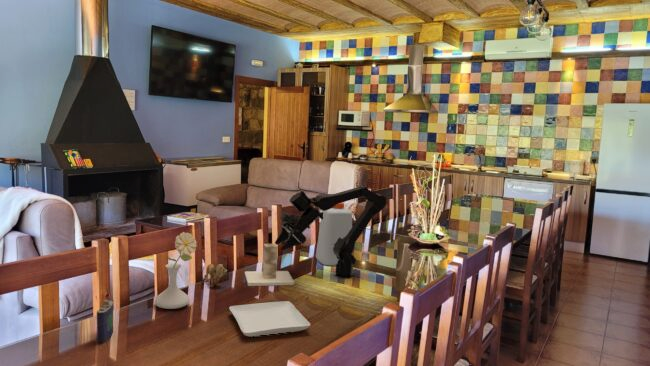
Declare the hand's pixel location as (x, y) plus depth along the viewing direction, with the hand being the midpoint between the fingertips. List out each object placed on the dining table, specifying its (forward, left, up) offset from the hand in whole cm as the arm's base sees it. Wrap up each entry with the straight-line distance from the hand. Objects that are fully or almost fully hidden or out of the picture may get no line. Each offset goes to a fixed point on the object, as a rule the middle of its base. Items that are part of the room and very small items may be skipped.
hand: (278, 246), depth 194 cm
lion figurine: (+18, +17, -14) cm, 29 cm away
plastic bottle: (-12, -37, -14) cm, 41 cm away
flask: (+19, +70, -14) cm, 74 cm away
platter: (+2, +2, -13) cm, 14 cm away
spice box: (+2, +2, -12) cm, 13 cm away
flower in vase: (+17, +42, -14) cm, 48 cm away
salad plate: (-17, +40, -14) cm, 46 cm away
